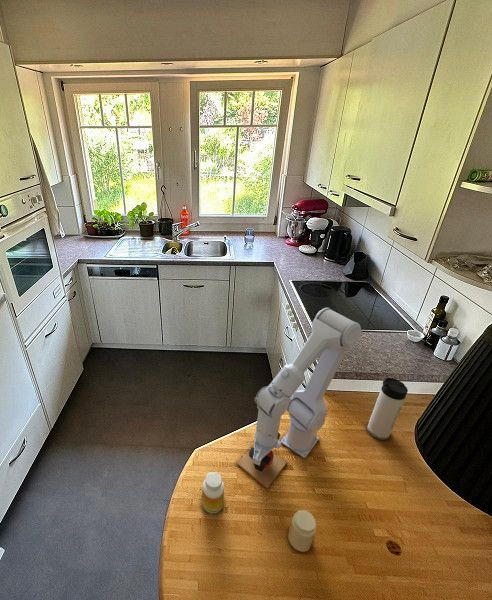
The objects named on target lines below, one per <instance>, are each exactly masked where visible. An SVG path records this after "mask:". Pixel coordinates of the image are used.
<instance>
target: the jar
mask: <svg viewBox="0 0 492 600" xmlns="http://www.w3.org/2000/svg"><path fill="white" fill-rule="evenodd" d="M316 532H317V522H316V519H315V516H313V514H312V513H311V512H310V511H308V510H305V509H299V510H297V511H296V512H295V513H294V514H293V515H292V518H291V522H290V525H289V530H288V535H287V538H288V541H289V543H290V545H291V546H292V548H293V549H295V551H299V552H300V553H301V552H302V553H304V552H308V551H309V550H310V549H311V547H312V544H313V541H314V538H315V535H316Z"/></svg>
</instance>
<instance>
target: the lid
mask: <svg viewBox="0 0 492 600" xmlns="http://www.w3.org/2000/svg"><path fill="white" fill-rule="evenodd" d="M273 453H274V452H273V450H271V451H270V452H269V453H268V454H267V456H269V457H271V460H270V462H269V464H268V465H266V466H265V467H269V466H270V465H271V464H272V463H273V458H274V455H273ZM265 467H264V468H265Z"/></svg>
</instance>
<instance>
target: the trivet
mask: <svg viewBox="0 0 492 600" xmlns="http://www.w3.org/2000/svg"><path fill="white" fill-rule="evenodd" d="M252 448H254V445H253V446H252ZM249 451H250V449H249V450H248V451H247V452H246V453H245V454H244V455H243V456H242V457H241V458H240V460H239V461H238V462H237V463H236V465H237V466H239V467H240V468H241V469H242V470H243V471H244V472H246V473H247V474H248V475H249V476H251V477H252V478H253V479H255V480H256V481H257V482H259V483H260V484H261V485H262V486H264V488H266V489H268V488H269V487H270V486H271V485H272V483H273V482H274V480H275V479H276V478H277V476H279V474H280V473H281V472H282V470H283V469H284V467H286V465H287V461H285V460H284V459H282V457H280V456H278V455H277V454H275V453H274V452H273V455H274V458H273V463H272V464H271V465H270V466H269V467H265V468H264V469H263V471H262V472H261V471H259V470H257V469H255V467H254V463H253V462H252V459H251V457H250V456H249Z"/></svg>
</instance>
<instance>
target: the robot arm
mask: <svg viewBox="0 0 492 600" xmlns="http://www.w3.org/2000/svg"><path fill="white" fill-rule="evenodd" d="M362 333H363V331H362V328H361V324H360V323H359V322H357V321H353V320H351V319H350V318H348V317H346V316H344V315H342V314H340V313H339V312H337V311H335V310H333V309H332V308H330V307H323V308H322V309H321V310H319V311H318V312H317V313H316V315H315V317H314V319H313V320H312V322H311V334H310V335H309V337H308V338H307V340H306V341H305V343H304V344H303V346H302V348H301V349H300V350H299V352H298V353H297V355H296V357H295V358H294V360H293V361H292V363H288V364H284V365H283V367H282V368H281V369H280V370H279V372H278V373H277V374H276V376H275V377H274V378H273V379H272V380H271V382H270V383H269V384H268V385H267V386H263V387H262V388H260V389H259V391H258V392H257V394H256V396H255V397H254V402H255V404H256V405H257V406H256V408H257V410H258V413H257V419H256V427H255V433H254V436H253V446H254V448H252V447H253V446H252V447H250V449H249V450H250V451H249V450H248V451H249V456H250V457H251V459H252V462H253V463H254V467H255V469H257V470H259V471H261V472H262V471H263V469H264V467H265V466H266V465H268V464H269V462H270V460H271V457H269V456H267V454H268V453H269V452H270V451H271V450H272V451H273V450H274V449H280V448H281V444H283V445H284V446H285V447H287V448H288V449H290V450H291V451H292V452H294V453H295V454H297V455H298V456H300V457H302V458H304V459H305V458H306V457H308V454H309V453H310V452H311V450H312V449H313V448H314V447H315V445H316V444H317V442H318V441H319V440H320V437H318V436H317V434H318V431H320V430H321V429H322V428H323V427H324V424H325V422H326V417H327V415H328V412H329V410H328V407H327V405H326V403H325V400H324V396H325V394H326V392H327V390H328V388H329V387H330V385H331V382H332V380H333V379H334V376H335V374H336V372H337V371H338V369H339V367H340V364H341V363H342V361H343V358H344V357H345V355H346V353H347V351H349V352H352V351H353V349H354V348H355V346H356V344H357V343H358V341H359V339H360V337H361V335H362ZM317 359H318V362H317V363H316V365H315V368H314V369H313V372H312V374H311V376H310V378H309V380H308V382H307V384H306V386H305V388H304V389H299V387H300V386H301V385H302V384H303V383H304V382H305V372H307V370H308V369H309V368H310V367H311V366H312V365H313V364H314V363H315V361H316V360H317ZM298 389H299V390H298ZM286 412H287V413H288V417H289V425H288V429H287V433H286V434H285V435H284V436H283V437H282V439H281V440H280V437H281V433H280V432H279V431H280V425H281V419H282V416H283V415H284V414H285V413H286Z"/></svg>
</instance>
